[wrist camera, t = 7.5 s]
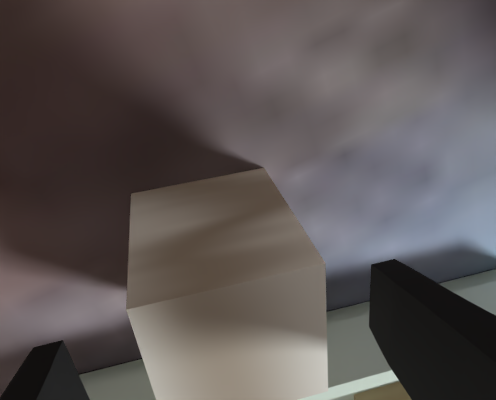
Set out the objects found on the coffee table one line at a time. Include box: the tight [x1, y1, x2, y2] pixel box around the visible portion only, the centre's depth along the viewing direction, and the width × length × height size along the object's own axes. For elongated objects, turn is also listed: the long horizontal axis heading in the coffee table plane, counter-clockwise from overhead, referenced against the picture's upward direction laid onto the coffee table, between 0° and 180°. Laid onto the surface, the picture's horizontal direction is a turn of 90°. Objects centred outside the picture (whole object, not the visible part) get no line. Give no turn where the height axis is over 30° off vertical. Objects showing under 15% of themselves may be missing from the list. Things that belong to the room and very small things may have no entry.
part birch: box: [126, 168, 328, 400], centre depth 11 cm, size 4×4×5 cm
